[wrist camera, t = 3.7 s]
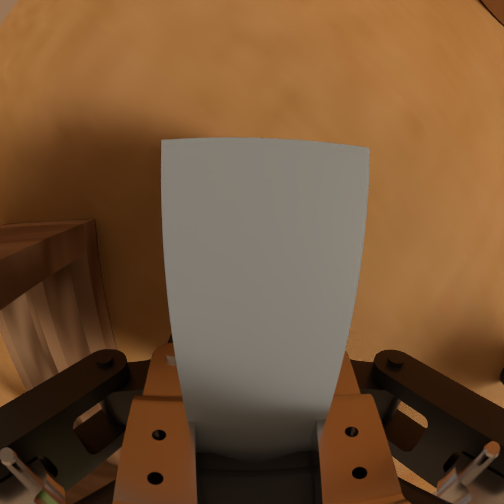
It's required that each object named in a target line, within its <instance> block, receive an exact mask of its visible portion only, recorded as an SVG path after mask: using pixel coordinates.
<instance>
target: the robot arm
mask: <svg viewBox="0 0 504 504" xmlns="http://www.w3.org/2000/svg"><path fill="white" fill-rule="evenodd" d="M481 1H482V2H483V3H484V4H485V6H486V7H487V8H488V9H489V10H490V11H491V12H492V14H493V15H494V16H495V17H496V18H497V19H498V20H499V21H500V22H501V23H502V24H503V25H504V0H481ZM401 401H403V402H404V403H405V404H407V405H408V406H410V407H411V408H413V409H414V410H416V411H418V412H419V413H421V414H422V415H423V416H425V418H426V419H427V421H428V428H424V427H423V426H421V425H420V424H418V423H417V422H415V421H414V420H412V419H411V418H409V417H408V416H407V415H405V414H404V413H402V412H401V411H399V410H398V409H397V408H398V406H399V404H400V402H401ZM98 403H99V404H100V406H101V408H102V409H101V410H100V411H98V412H97V413H95V414H94V415H93V416H91V417H90V418H89V419H87V420H86V421H84V422H83V423H82V424H80V425H79V426H78V427H76V428H75V429H73V425H74V422H75V420H76V419H77V418H78V417H79V416H81V415H82V414H84V413H85V412H86V411H88V410H89V409H91V408H92V407H93V406H95V405H96V404H98ZM310 440H311V443H312V450H311V451H301V452H296V453H293V454H289V455H286V456H282V457H278V458H275V459H271V460H267V461H262V462H255V463H254V462H248V461H243V460H238V459H233V458H229V457H224V456H220V455H216V454H212V453H200V452H198V442H199V441H198V436H197V431H196V426H195V422H191V421H187V418H186V413H185V408H184V403H183V398H182V393H181V387H180V382H179V376H178V370H177V364H176V358H175V352H174V345H173V338H172V333H171V336H170V338H169V341H168V343H167V344H164V345H162V346H160V347H158V348H157V349H156V350H155V351H154V352H153V354H152V357H151V359H150V360H146V361H138V362H127V359H126V356H125V355H124V354H123V353H122V352H120V351H118V350H115V349H102V350H98V351H96V352H94V353H92V354H90V355H88V356H87V357H85V358H83V359H82V360H80V361H78V362H77V363H75V364H73V365H71V366H70V367H68V368H66V369H65V370H63V371H61V372H60V373H58V374H56V375H55V376H53V377H51V378H49V379H48V380H46V381H44V382H43V383H41V384H39V385H38V386H36V387H34V388H32V389H31V390H29V391H27V392H26V393H24V394H22V395H21V396H19V397H17V398H15V399H14V400H12V401H10V402H9V403H7V404H5V405H3V406H2V407H0V504H66V503H65V492H66V491H68V490H69V489H70V488H71V487H73V486H74V485H75V484H77V483H78V482H79V481H80V480H82V479H83V478H84V477H86V476H87V475H88V474H89V473H91V472H92V471H93V470H94V469H96V468H97V467H98V466H99V465H100V464H102V463H103V462H104V461H105V460H106V459H108V458H109V457H110V456H111V455H112V454H114V453H115V452H116V451H117V450H118V449H120V448H121V447H122V450H121V455H120V460H119V466H118V471H117V477H116V479H115V480H113V481H111V482H110V483H108V484H107V485H105V486H103V487H102V488H100V489H98V490H96V491H95V492H93V493H91V494H89V495H88V496H86V497H84V498H82V499H80V500H78V501H77V502H75V503H73V504H504V408H502V407H500V406H498V405H496V404H495V403H493V402H491V401H489V400H487V399H486V398H484V397H482V396H480V395H478V394H477V393H475V392H473V391H471V390H469V389H468V388H466V387H464V386H462V385H460V384H459V383H457V382H455V381H453V380H452V379H450V378H448V377H446V376H445V375H443V374H441V373H439V372H437V371H436V370H434V369H432V368H430V367H429V366H427V365H425V364H423V363H422V362H420V361H418V360H416V359H415V358H413V357H411V356H409V355H408V354H406V353H404V352H401V351H397V350H384V351H381V352H379V353H378V354H377V355H376V356H375V358H374V361H373V362H364V361H355V360H351V359H350V358H349V355H348V353H347V352H346V351H345V353H344V357H343V361H342V365H341V369H340V373H339V377H338V381H337V385H336V388H335V392H334V395H333V399H332V402H331V406H330V409H329V412H328V416H327V419H320V420H316V422H315V425H314V429H313V432H312V435H311V439H310ZM392 456H393V457H394V458H395V459H397V460H398V461H399V462H401V463H402V464H403V465H405V466H406V467H407V468H409V469H410V470H412V471H413V472H414V473H416V474H417V475H418V476H420V477H421V478H423V479H424V480H425V481H427V482H428V483H430V484H431V485H433V486H434V487H435V488H437V493H438V494H437V496H435V495H433V494H431V493H429V492H427V491H425V490H422V489H420V488H418V487H416V486H415V485H413V484H411V483H409V482H407V481H405V480H403V479H401V478H399V477H398V476H397V473H396V469H395V465H394V462H393V458H392Z"/></svg>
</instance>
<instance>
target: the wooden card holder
mask: <svg viewBox="0 0 504 504" xmlns="http://www.w3.org/2000/svg"><path fill="white" fill-rule="evenodd" d="M0 331H1V334H2V337H3V339H4V342H5V344H6V347H7V349H8V352H9V354H10V356H11V359H12V361H13V363H14V365H15V367H16V370H17V372H18V374H19V376H20V378H21V380H22V382H23V384H24V386H25V388H26V390H27V391H29V390H31V389H32V388H34V387H36V386H38V385H39V384H41V383H43V382H44V381H46V380H48V379H49V378H51V377H53V376H55V375H56V374H58V373H60V372H61V371H63V370H65V369H66V368H68V367H70V366H71V365H73V364H75V363H77V362H78V361H80V360H82V359H83V358H85V357H87V356H88V355H90V354H92V353H94V352H96V351H98V350H102V349H115V350H117V348H116V344H115V341H114V337H113V332H112V328H111V324H110V319H109V315H108V310H107V305H106V300H105V294H104V289H103V283H102V277H101V270H100V263H99V256H98V247H97V238H96V228H95V219H83V220H62V221H45V222H29V223H15V224H4V225H1V226H0ZM101 409H102V408H101V406H100V404H99V403H98V404H96V405H95V406H93V407H92V408H91V409H89V410H88V411H86V412H85V413H84V414H82V415H81V416H79V417H78V418H77V419H76V420H75V422H74V425H73V429H75V428H76V427H78V426H79V425H80V424H82V423H83V422H84V421H86V420H87V419H89V418H90V417H91V416H93V415H94V414H95V413H97V412H98V411H100V410H101ZM121 450H122V447H121V448H120V449H118V450H117V451H116V452H115V453H114V454H112V455H111V456H110V457H109V458H108V459H106V460H105V461H104V462H103V463H102V464H100V465H99V466H98V467H97V468H96V469H94V470H93V471H92V472H91V473H89V474H88V475H87V476H86V477H84V478H83V479H82V480H80V481H79V482H78V483H77V484H75V485H74V486H73V487H71V488H70V489H69V490H68V491H66V492H65V503H66V504H73V503H75V502H77V501H78V500H80V499H82V498H84V497H86V496H88V495H89V494H91V493H93V492H95V491H96V490H98V489H100V488H102V487H103V486H105V485H107V484H108V483H110V482H111V481H113V480H115V479H116V477H117V471H118V466H119V460H120V455H121Z"/></svg>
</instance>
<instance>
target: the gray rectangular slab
mask: <svg viewBox="0 0 504 504" xmlns="http://www.w3.org/2000/svg"><path fill="white" fill-rule="evenodd" d="M369 165H370V148H367V147H360V146H353V145H345V144H336V143H327V142H317V141H305V140H291V139H273V138H186V139H168V140H161V205H162V231H163V249H164V263H165V275H166V286H167V297H168V306H169V315H170V323H171V330H172V338H173V345H174V352H175V358H176V364H177V370H178V376H179V382H180V387H181V393H182V398H183V403H184V408H185V413H186V418H187V421H191V422H195V426H196V431H197V436H198V441H199V442H198V452H200V453H212V454H216V455H220V456H224V457H229V458H233V459H238V460H243V461H248V462H254V463H255V462H262V461H267V460H271V459H275V458H278V457H282V456H286V455H289V454H293V453H296V452H301V451H311V450H312V443H311V440H310V439H311V435H312V432H313V429H314V425H315V422H316V420H320V419H327V416H328V412H329V409H330V406H331V402H332V399H333V395H334V392H335V388H336V385H337V381H338V377H339V373H340V369H341V365H342V361H343V357H344V353H345V349H346V344H347V340H348V335H349V330H350V325H351V320H352V315H353V310H354V304H355V299H356V293H357V287H358V281H359V274H360V267H361V260H362V252H363V244H364V235H365V225H366V214H367V202H368V187H369Z"/></svg>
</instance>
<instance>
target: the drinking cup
mask: <svg viewBox="0 0 504 504" xmlns="http://www.w3.org/2000/svg"><path fill="white" fill-rule="evenodd" d="M500 380H501V382H502V383H503V385H504V369H503V371H502V373H501V376H500Z"/></svg>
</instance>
